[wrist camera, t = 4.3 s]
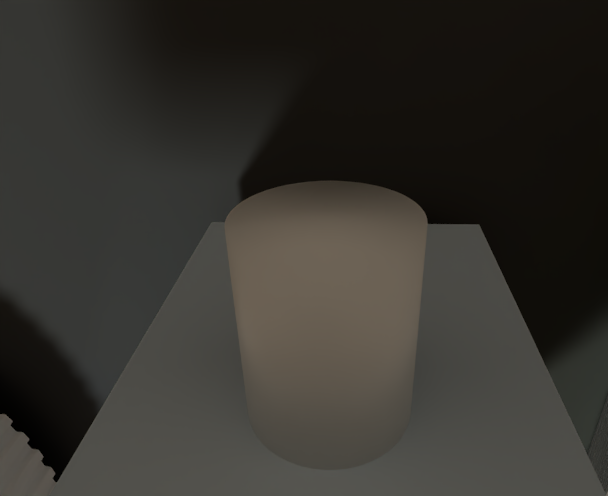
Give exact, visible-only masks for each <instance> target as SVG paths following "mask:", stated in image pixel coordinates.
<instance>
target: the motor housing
mask: <svg viewBox="0 0 608 496" xmlns="http://www.w3.org/2000/svg"><path fill="white" fill-rule="evenodd" d="M587 455H588V457H589V459H590V462H591V464H592V466H593V468H594V470H595V472H596V474H597V476H598V479H599V481H600V483H601V485H602V487H603V489H604V491H605V493H606V496H608V396H607V399H606V402H605V405H604V408H603V411H602V414H601V417H600V419H599V422H598V425H597V428H596V431H595V434H594V437H593V440H592V443H591V446H590V448H589V451H588V454H587Z"/></svg>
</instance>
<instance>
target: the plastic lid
mask: <svg viewBox="0 0 608 496" xmlns="http://www.w3.org/2000/svg"><path fill="white" fill-rule="evenodd" d="M12 422H13V421H12V420H11V419H10V418H9V417H8V416H7V415H5V414H0V496H49V495H50V493H51V492H52V490H53V488H54V487H55V485H56V483H57V482H55V481H54V480H53V477H54V475H55V472H54V471H53V469H52V468H51V467H49V466H45V465H44V464H43V463H42V461H41V460H42V459H43V457H44V456H43V455H42V454H41V452H40V451H39V450H37V449H32V448H31V447H30V446H29V445H28V444H27V442H28V441H29V438H28V437H27V436H26V435H25V434H24V433H23V432H17V431H15V430H14V429H13V428H12V426H11V424H12Z"/></svg>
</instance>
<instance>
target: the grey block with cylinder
mask: <svg viewBox="0 0 608 496" xmlns="http://www.w3.org/2000/svg"><path fill="white" fill-rule="evenodd" d="M49 496H606V493H605V491H604V489H603V487H602V485H601V483H600V481H599V479H598V476H597V474H596V472H595V470H594V468H593V466H592V464H591V462H590V459H589V457H588V455H587V453H586V451H585V449H584V447H583V445H582V442H581V440H580V438H579V436H578V434H577V432H576V430H575V427H574V425H573V423H572V421H571V419H570V417H569V415H568V413H567V410H566V408H565V406H564V404H563V402H562V400H561V398H560V396H559V393H558V391H557V389H556V387H555V385H554V383H553V381H552V379H551V376H550V374H549V372H548V370H547V368H546V366H545V364H544V361H543V359H542V357H541V355H540V353H539V351H538V349H537V347H536V344H535V342H534V340H533V338H532V336H531V334H530V332H529V330H528V327H527V325H526V323H525V321H524V319H523V317H522V315H521V313H520V310H519V308H518V306H517V304H516V302H515V300H514V298H513V296H512V293H511V291H510V289H509V287H508V285H507V283H506V281H505V278H504V276H503V274H502V272H501V270H500V268H499V266H498V264H497V261H496V259H495V257H494V255H493V253H492V251H491V249H490V247H489V244H488V242H487V240H486V238H485V236H484V234H483V232H482V230H481V227H480V225H479V224H428V222H427V217H426V214H425V212H424V211H423V209H422V208H421V207H420V206H419V205H418V204H417V203H416V202H414V201H413V200H411V199H410V198H408V197H406V196H405V195H403V194H401V193H398V192H396V191H393V190H390V189H387V188H384V187H380V186H376V185H371V184H365V183H358V182H349V181H311V182H302V183H295V184H289V185H284V186H279V187H275V188H272V189H269V190H265V191H263V192H260V193H257V194H255V195H253V196H251V197H249V198H247V199H245V200H244V201H242V202H241V203H239V204H238V205H237V206H235V207H234V208H233V209H232V210H231V211H230V213H229V214H228V216H227V218H226V220H225V222H211V224H210V226H209V227H208V229H207V231H206V232H205V234H204V236H203V237H202V239H201V241H200V243H199V244H198V246H197V248H196V249H195V251H194V253H193V254H192V256H191V258H190V259H189V261H188V263H187V264H186V266H185V268H184V269H183V271H182V273H181V275H180V276H179V278H178V280H177V281H176V283H175V285H174V286H173V288H172V290H171V291H170V293H169V295H168V296H167V298H166V300H165V301H164V303H163V305H162V307H161V308H160V310H159V312H158V313H157V315H156V317H155V318H154V320H153V322H152V323H151V325H150V327H149V328H148V330H147V332H146V333H145V335H144V337H143V339H142V340H141V342H140V344H139V345H138V347H137V349H136V350H135V352H134V354H133V355H132V357H131V359H130V360H129V362H128V364H127V365H126V367H125V369H124V370H123V372H122V374H121V376H120V377H119V379H118V381H117V382H116V384H115V386H114V387H113V389H112V391H111V392H110V394H109V396H108V397H107V399H106V401H105V402H104V404H103V406H102V408H101V409H100V411H99V413H98V414H97V416H96V418H95V419H94V421H93V423H92V424H91V426H90V428H89V429H88V431H87V433H86V434H85V436H84V438H83V440H82V441H81V443H80V445H79V446H78V448H77V450H76V451H75V453H74V455H73V456H72V458H71V460H70V461H69V463H68V465H67V466H66V468H65V470H64V472H63V473H62V475H61V477H60V478H59V480H58V482H57V483H56V485H55V487H54V488H53V490H52V492H51V493H50V495H49Z"/></svg>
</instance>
